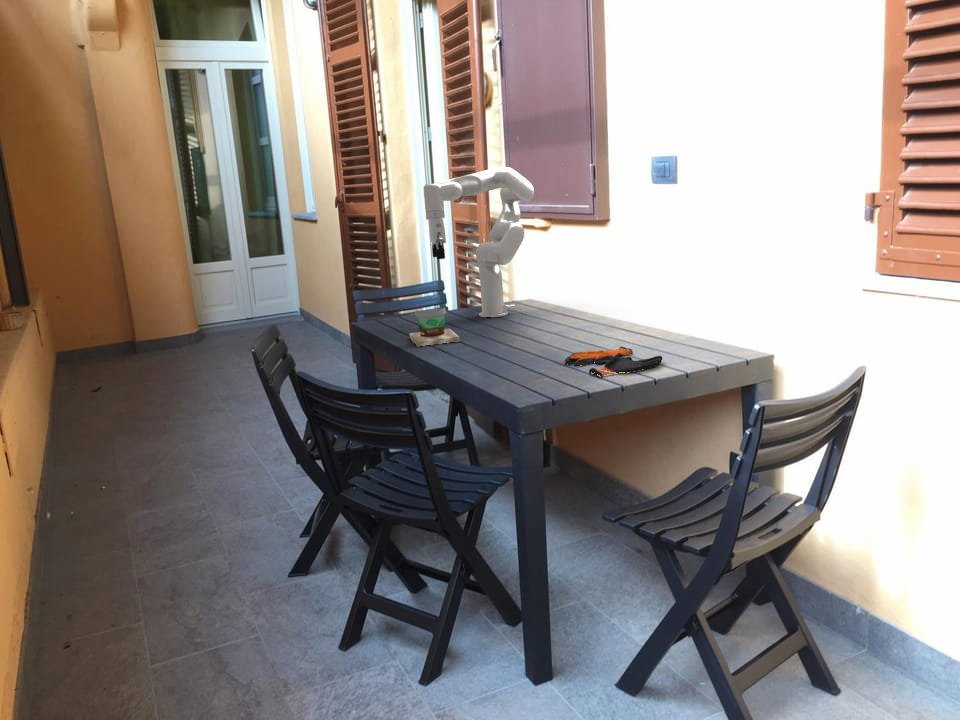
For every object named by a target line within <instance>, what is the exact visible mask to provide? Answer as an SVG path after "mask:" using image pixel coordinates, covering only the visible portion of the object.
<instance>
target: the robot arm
mask: <svg viewBox="0 0 960 720" xmlns="http://www.w3.org/2000/svg"><path fill="white" fill-rule="evenodd" d="M497 189H500V191H499V196H500V200H501V204H502V206H501V207H502V210H501V212H500V214H499V216H498V218H497V219H496V220H495V222H494V224H493V226H492V227H491V230H490V233H489V234H490V235H489V237H490V239H491V241H484V242H482V243H480V244H479V245H478V246H477V247H476V251H475V259H476V262H477V267H478V270H479V271H478V273H479V285H480V297H481V298H480V299H481V310H482V311H481V312H479V314H478V316H479V317H480V318H486V317H491V318H498V317H499V318H500V317H504V316H508V314H509V310H514V309H516V306H515V304H506V303H504V302H505V301H504V290H503V289H504V287H503V274H502V270H501V267H500V266H506V265H508V264H510V262H512V260H513V259H514V257H515V255H516V253H517V252H518V250H519V248H520V246H521V245H522V243H523V241H524V238H525V228H524V227H523V225H522V224H521V223H519V222H520V220H521V216H522V215H521V209H520V205H519V203H527V202H529V201H531V200H532V199H533V198H534V196H535V189H534V186H533V185H532V183H531V182H530V181H529V180H527V178H525V177H524V176H522V175H521V174H520V173H519V172H517V171H516V170H514V168H511V167H508V166H505V167H494V168H489V169H485V170H482V171H478V172H475V173H471V174H466V175H462V176H459V177H453V178H451V179H446V180H442V181H438V182H436V183H428V184H424V186H423V198H424V210H425V220H427V221H428V227H429V229H428V230H429V238H430V242H431V250H432V251H431V252H432V257H433V258H436V259H437V260H444V259H446V253H445V252H446V251H445V245H444V244H446V243H447V237H446V229H445V222H444V219H445V218H446V216H445V215H446V214H445V205H444V202H453V201H457V200H459V199H460V198H461V197H462V196H475V195H479V194H483V193H486V192H490V191H493V190H497Z"/></svg>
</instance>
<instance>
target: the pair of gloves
mask: <svg viewBox="0 0 960 720" xmlns="http://www.w3.org/2000/svg"><path fill="white" fill-rule="evenodd" d="M629 354H632V355H634V354H633V350H632V348H627V347H625V346H623V345H622V346H621V345H620V347H618V349H613V350H604V349H603V350H590V351H580V352H579V351H578V352H574V353H572V354H570V355H569V356H567V357H566V358H565V359H564V366H566V365H567V364H568V365H569V366H571V365H570V364H574V365H573V367H574V366H580V365H585V366H587V365H586V364H589V365H591V364H590V363H594V362H595V364H598V365H601V364H600V363H605V364H604V367H603V368H601V369H596V368H595V367H592V368H590V369H589V370H588V374H590V373H591V372H592V373H594V372H595V374H596V375H597V374H598V375H600V376H604V375H607V374H614V373H609V372H604V371H600V370H607V371H610V372H616V373H619V372H625V373H627V372H632V373H634V372H633V371H638V370H641V371H643V370H642V369H645V370H647V369H651V368H650V367H653V368H655V367H658V366H659V365H660V364H661V363H662V361H663V356H661V355H655V356H653V357H649V358H646V359H645V358H644V359H638V360H633V358H632V357H631V356H630V355H629ZM624 355H626V356H624ZM620 356H622V357H620ZM659 363H660V364H659ZM654 366H655V367H654ZM646 368H647V369H646ZM638 372H639V371H638ZM595 374H594V375H595ZM596 375H595V376H596Z"/></svg>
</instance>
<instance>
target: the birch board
mask: <svg viewBox="0 0 960 720" xmlns="http://www.w3.org/2000/svg"><path fill="white" fill-rule="evenodd" d="M410 338H411V339H410ZM409 339H410V340H411V341H412V343H413V344H414V343H415V344H416V345H415V344H414V345H415V346H416V347H417V348H421V347H420V346H423V347H426V346H425V345H431V346H435V345H434V344H439V345H443V344H442V343H447V344H450V343H449V342H456V343H460V342H459V341H461V339H460V336H459V335H458V334H457V333H455V331H453V330H452V329H451V328H450V327H449V328H444V334H443V335H440V336H434V337H423V336H420V331H418V332H410V333H409Z"/></svg>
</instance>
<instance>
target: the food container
mask: <svg viewBox="0 0 960 720" xmlns="http://www.w3.org/2000/svg"><path fill="white" fill-rule="evenodd" d="M446 314H447V310H446V308H445V306H443V308H440V309H428V310H415V311H414V316H415V317H416V320H417V325H418V330H419V331H418V332H420V336H423V337H434V336H440V335H443V334H444V329H446V328H445V322H446V321H445V317H446V316H445V315H446Z"/></svg>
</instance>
